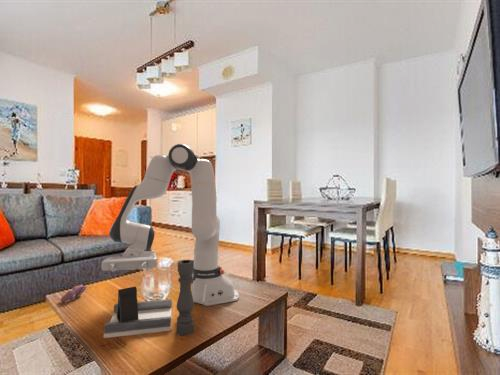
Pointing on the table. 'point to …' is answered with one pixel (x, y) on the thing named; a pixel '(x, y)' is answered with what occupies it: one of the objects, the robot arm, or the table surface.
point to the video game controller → (73, 293)
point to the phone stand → (127, 304)
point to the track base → (143, 315)
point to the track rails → (141, 323)
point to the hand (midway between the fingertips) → (127, 268)
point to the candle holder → (185, 299)
